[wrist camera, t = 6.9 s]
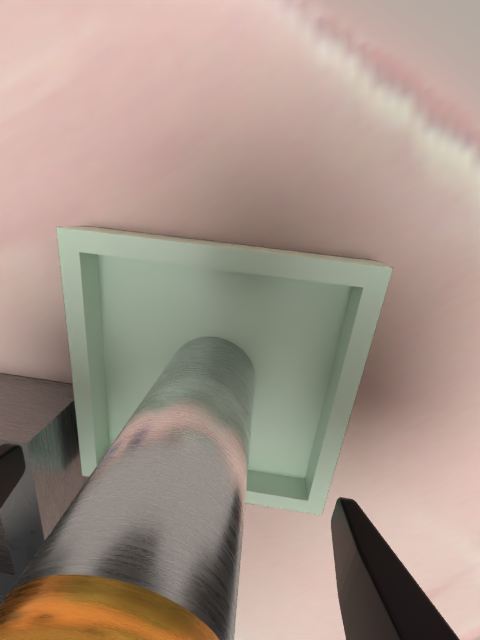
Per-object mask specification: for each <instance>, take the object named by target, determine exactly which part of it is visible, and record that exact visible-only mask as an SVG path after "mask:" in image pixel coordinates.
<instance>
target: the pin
mask: <svg viewBox="0 0 480 640" xmlns="http://www.w3.org/2000/svg"><path fill="white" fill-rule="evenodd" d="M254 391H255V370H254V367H253V364H252V362H251V360H250V358H249V357H248V355H247V354H246V353H245V352H244V351H243V350H242V349H241V348H240V347H239V346H237V345H236V344H234V343H232V342H230V341H228V340H225V339H222V338H218V337H199V338H196V339H193V340H190V341H188V342H187V343H185V344H184V345H182V346H181V347H180V348H179V349H178V350H177V351H176V353H175V354H174V356H173V357H172V359H171V360H170V362H169V363H168V364H167V366H166V367H165V369H164V370H163V372H162V373H161V374H160V376H159V377H158V379H157V380H156V382H155V383H154V385H153V386H152V387H151V389H150V390H149V392H148V393H147V395H146V396H145V397H144V399H143V400H142V402H141V403H140V405H139V406H138V408H137V409H136V410H135V412H134V413H133V415H132V416H131V418H130V419H129V420H128V422H127V423H126V425H125V426H124V428H123V429H122V431H121V432H120V433H119V435H118V436H117V438H116V439H115V441H114V442H113V443H112V445H111V446H110V448H109V449H108V451H107V452H106V454H105V455H104V456H103V458H102V459H101V461H100V462H99V464H98V465H97V466H96V468H95V469H94V471H93V472H92V474H91V475H90V477H89V478H88V479H87V481H86V482H85V484H84V485H83V487H82V488H81V489H80V491H79V492H78V494H77V495H76V497H75V498H74V500H73V501H72V502H71V504H70V505H69V507H68V508H67V510H66V511H65V512H64V514H63V515H62V517H61V518H60V520H59V521H58V523H57V524H56V525H55V527H54V528H53V530H52V531H51V533H50V534H49V535H48V537H47V538H46V540H45V541H44V543H43V544H42V546H41V547H40V548H39V550H38V551H37V553H36V554H35V556H34V557H33V558H32V560H31V561H30V563H29V564H28V566H27V567H26V569H25V570H24V571H23V573H22V574H21V576H20V577H19V579H18V580H17V581H16V583H15V584H14V586H13V587H12V589H11V590H10V592H9V593H8V594H7V596H6V597H5V599H4V600H3V602H2V603H1V605H0V640H234V632H235V620H236V608H237V596H238V584H239V572H240V560H241V548H242V536H243V524H244V512H245V499H246V487H247V475H248V463H249V451H250V439H251V427H252V415H253V403H254Z"/></svg>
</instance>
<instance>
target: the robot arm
mask: <svg viewBox="0 0 480 640" xmlns="http://www.w3.org/2000/svg"><path fill="white" fill-rule="evenodd" d="M25 469H26V464H25V459H24V454H23V449H22V447H21V446H20V445H17V444H11V443H5V444H2V445H0V509H1V508H2V506H3V505H4V503H5V502H6V500H7V499H8V497H9V496H10V494H11V493H12V491H13V490H14V488H15V487H16V485H17V484H18V482H19V481H20V479H21V478H22V476H23V474H24V472H25ZM331 531H332V541H333V551H334V561H335V570H336V580H337V589H338V598H339V604H340V609H341V615H342V620H343V625H344V630H345V636H346V640H460V639H459V638H458V637H457V635H456V634H455V633H454V631H453V630H452V629H451V627H450V626H449V625H448V623H447V622H446V621H445V619H444V618H443V617H442V615H441V614H440V613H439V612H438V610H437V609H436V608H435V606H434V605H433V604H432V602H431V601H430V600H429V598H428V597H427V596H426V594H425V593H424V592H423V590H422V589H421V588H420V586H419V585H418V584H417V582H416V581H415V580H414V578H413V577H412V576H411V574H410V573H409V572H408V570H407V569H406V568H405V566H404V565H403V564H402V562H401V561H400V560H399V558H398V557H397V556H396V554H395V553H394V552H393V550H392V549H391V548H390V546H389V545H388V544H387V542H386V541H385V540H384V538H383V537H382V536H381V534H380V533H379V532H378V530H377V529H376V528H375V526H374V525H373V524H372V522H371V521H370V520H369V518H368V517H367V516H366V514H365V513H364V512H363V510H362V509H361V508H360V506H359V505H358V504H357V503H356V501H354V500H353V499H348V498H342V497H340V498H338V500H337V502H336V505H335V509H334V512H333V515H332V519H331Z"/></svg>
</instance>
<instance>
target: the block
mask: <svg viewBox="0 0 480 640" xmlns="http://www.w3.org/2000/svg"><path fill="white" fill-rule="evenodd" d="M5 443H11V444H17V445H20V446H21V447H22V449H23V454H24V459H25V464H26V469H25V472H24V474H23V476H22V478H21V479H20V481H19V482H18V484H17V485H16V487H15V488H14V490H13V491H12V493H11V494H10V496H9V497H8V499H7V500H6V502H5V503H4V505H3V506H2V508H1V509H0V605H1V603H2V602H3V600H4V599H5V597H6V596H7V594H8V593H9V592H10V590H11V589H12V587H13V586H14V584H15V583H16V581H17V580H18V579H19V577H20V576H21V574H22V573H23V571H24V570H25V569H26V567H27V566H28V564H29V563H30V561H31V560H32V558H33V557H34V556H35V554H36V553H37V551H38V550H39V548H40V547H41V546H42V544H43V543H44V541H45V540H46V538H47V537H48V535H49V534H50V533H51V531H52V530H53V528H54V527H55V525H56V524H57V523H58V521H59V520H60V518H61V517H62V515H63V514H64V512H65V511H66V510H67V508H68V507H69V505H70V504H71V502H72V501H73V500H74V498H75V497H76V495H77V494H78V492H79V491H80V489H81V488H82V487H83V485H84V484H85V482H86V481H87V479H88V478H89V477H88V476H82V468H81V458H80V449H79V439H78V430H77V420H76V411H75V401H74V392H73V384H67V383H60V382H54V381H47V380H40V379H34V378H27V377H20V376H14V375H7V374H0V445H2V444H5Z"/></svg>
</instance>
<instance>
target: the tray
mask: <svg viewBox="0 0 480 640" xmlns="http://www.w3.org/2000/svg"><path fill="white" fill-rule="evenodd" d="M56 230H57V240H58V249H59V259H60V268H61V278H62V287H63V297H64V306H65V316H66V325H67V335H68V344H69V354H70V363H71V373H72V382H73V392H74V401H75V411H76V420H77V430H78V439H79V449H80V458H81V468H82V476H88V477H90V475H91V474H92V472H93V471H94V469H95V468H96V466H97V465H98V464H99V462H100V461H101V459H102V458H103V456H104V455H105V454H106V452H107V451H108V449H109V448H110V446H111V445H112V443H113V442H114V441H115V439H116V438H117V436H118V435H119V433H120V432H121V431H122V429H123V428H124V426H125V425H126V423H127V422H128V420H129V419H130V418H131V416H132V415H133V413H134V412H135V410H136V409H137V408H138V406H139V405H140V403H141V402H142V400H143V399H144V397H145V396H146V395H147V393H148V392H149V390H150V389H151V387H152V386H153V385H154V383H155V382H156V380H157V379H158V377H159V376H160V374H161V373H162V372H163V370H164V369H165V367H166V366H167V364H168V363H169V362H170V360H171V359H172V357H173V356H174V354H175V353H176V351H177V350H178V349H179V348H180V347H181V346H182V345H184V344H185V343H187V342H188V341H190V340H193V339H196V338H199V337H218V338H222V339H225V340H228V341H230V342H232V343H234V344H236V345H237V346H239V347H240V348H241V349H242V350H243V351H244V352H245V353H246V354H247V355H248V357H249V358H250V360H251V362H252V364H253V367H254V370H255V391H254V403H253V415H252V427H251V439H250V451H249V463H248V475H247V487H246V499H245V503H249V504H255V505H261V506H267V507H273V508H279V509H285V510H291V511H297V512H303V513H309V514H315V515H322V512H323V508H324V505H325V502H326V498H327V495H328V491H329V488H330V484H331V481H332V477H333V474H334V470H335V467H336V464H337V460H338V457H339V453H340V450H341V446H342V443H343V439H344V436H345V432H346V429H347V425H348V422H349V419H350V415H351V412H352V408H353V405H354V401H355V398H356V394H357V391H358V387H359V384H360V381H361V377H362V374H363V370H364V367H365V363H366V360H367V356H368V353H369V349H370V346H371V343H372V339H373V336H374V332H375V329H376V325H377V322H378V318H379V315H380V311H381V308H382V305H383V301H384V298H385V294H386V291H387V287H388V284H389V280H390V277H391V273H392V270H393V268H392V267H390V266H387V265H385V264H382V263H380V262H377V261H374V260H366V259H357V258H349V257H341V256H332V255H324V254H316V253H307V252H299V251H291V250H282V249H274V248H266V247H257V246H249V245H241V244H232V243H224V242H216V241H207V240H199V239H191V238H182V237H174V236H166V235H157V234H149V233H141V232H133V231H124V230H116V229H108V228H99V227H91V226H71V227H56Z"/></svg>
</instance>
